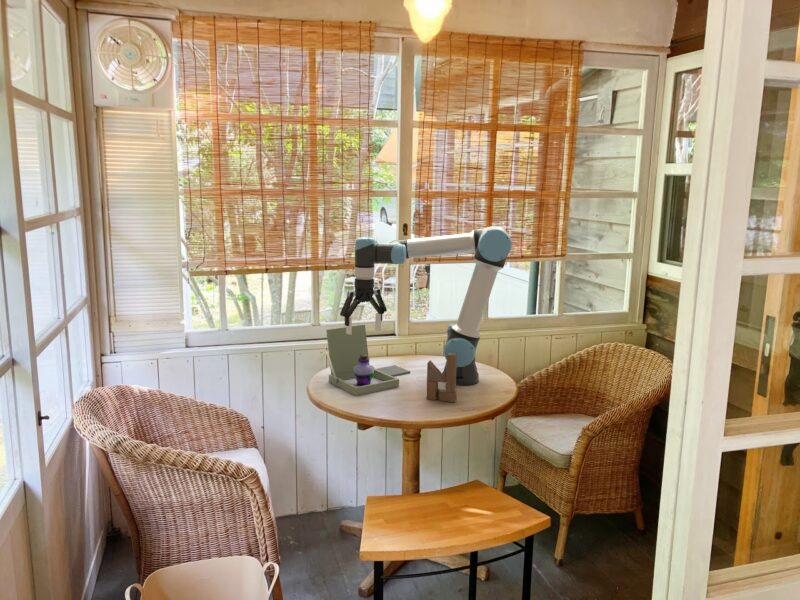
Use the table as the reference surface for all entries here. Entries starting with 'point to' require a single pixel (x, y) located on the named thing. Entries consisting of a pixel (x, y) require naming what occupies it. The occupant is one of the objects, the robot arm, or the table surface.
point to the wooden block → (442, 380)
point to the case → (352, 360)
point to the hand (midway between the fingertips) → (363, 331)
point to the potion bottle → (363, 371)
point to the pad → (394, 370)
